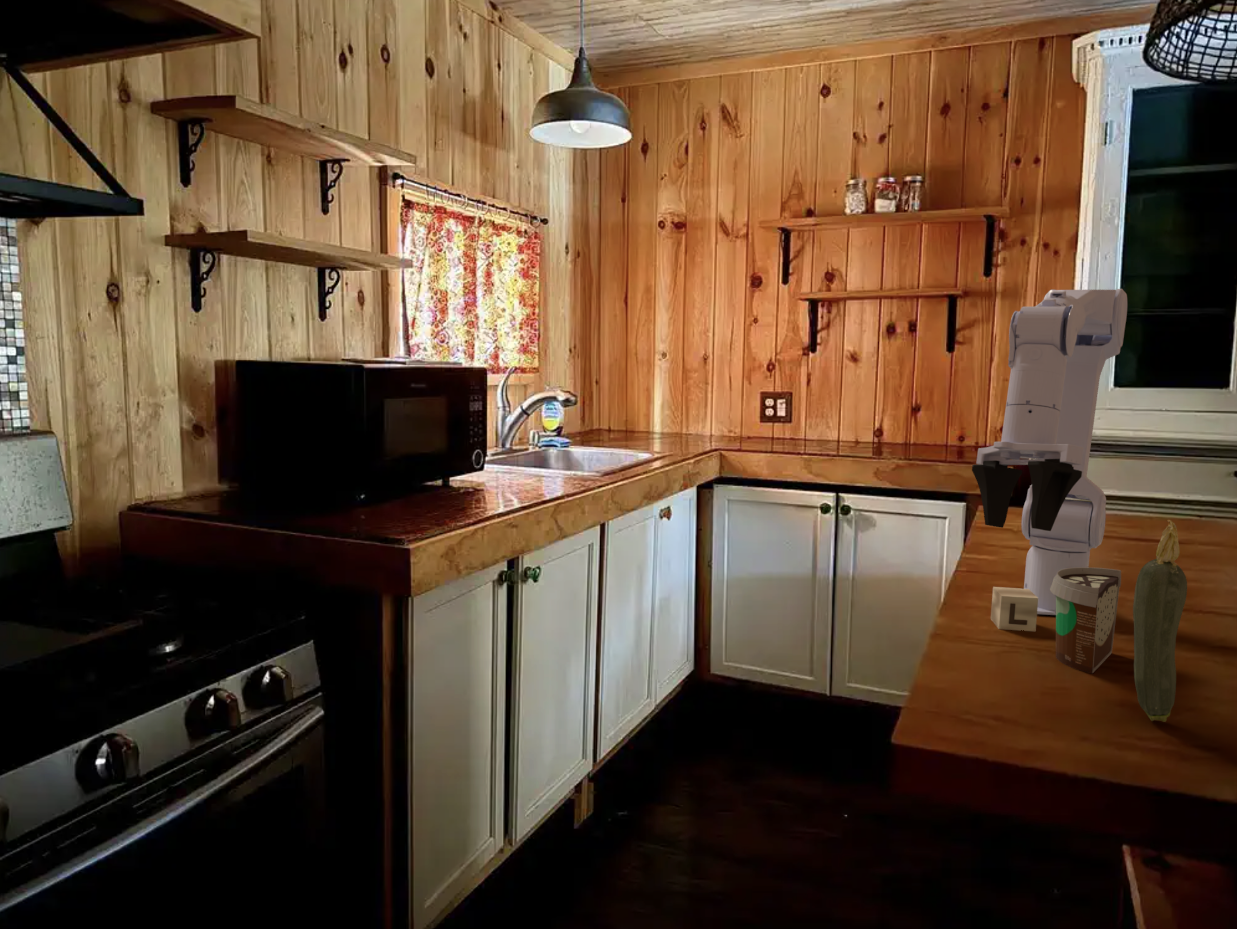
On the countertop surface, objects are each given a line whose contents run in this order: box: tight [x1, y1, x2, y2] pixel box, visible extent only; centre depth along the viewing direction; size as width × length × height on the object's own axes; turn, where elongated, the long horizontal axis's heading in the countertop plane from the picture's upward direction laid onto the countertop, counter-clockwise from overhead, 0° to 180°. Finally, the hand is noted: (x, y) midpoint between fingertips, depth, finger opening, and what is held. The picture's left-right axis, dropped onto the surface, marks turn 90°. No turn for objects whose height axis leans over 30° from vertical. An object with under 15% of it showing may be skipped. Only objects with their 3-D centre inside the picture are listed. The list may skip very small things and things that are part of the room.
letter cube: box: [990, 586, 1038, 632], centre depth 123 cm, size 5×4×4 cm
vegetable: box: [1132, 519, 1188, 723], centre depth 91 cm, size 4×4×20 cm
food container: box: [1050, 567, 1122, 674], centre depth 110 cm, size 12×6×10 cm, turn 141°
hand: (1016, 527), depth 106 cm, fingers open, 7 cm apart
